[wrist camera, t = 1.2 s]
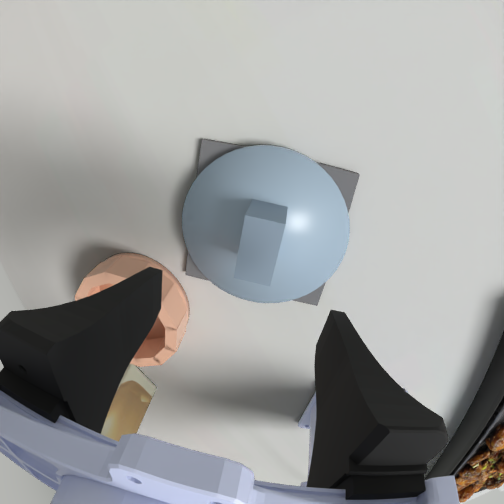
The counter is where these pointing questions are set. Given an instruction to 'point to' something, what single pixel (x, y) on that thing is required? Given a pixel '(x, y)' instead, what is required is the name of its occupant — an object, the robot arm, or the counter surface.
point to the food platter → (478, 438)
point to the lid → (265, 224)
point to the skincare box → (128, 404)
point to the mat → (340, 176)
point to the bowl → (172, 304)
